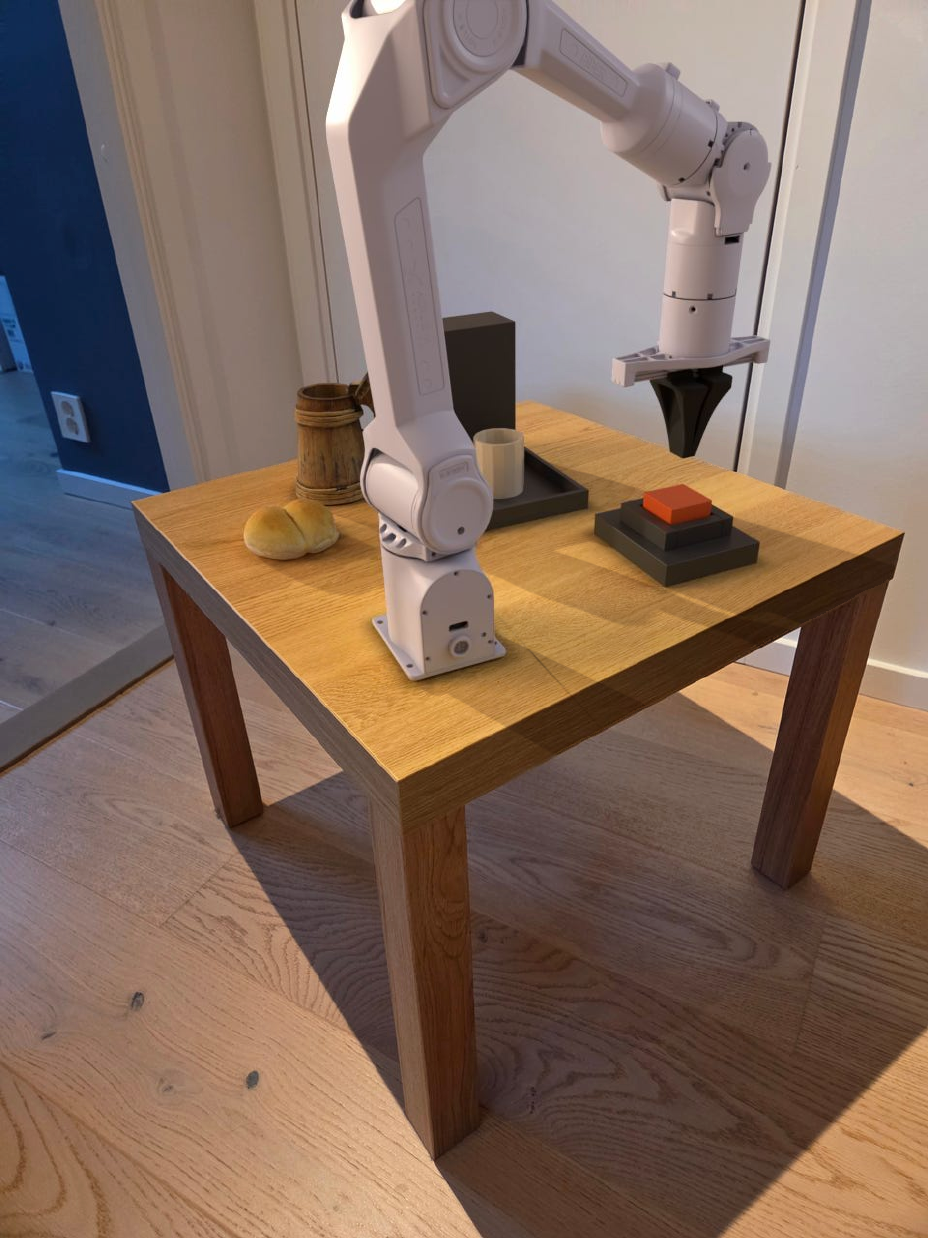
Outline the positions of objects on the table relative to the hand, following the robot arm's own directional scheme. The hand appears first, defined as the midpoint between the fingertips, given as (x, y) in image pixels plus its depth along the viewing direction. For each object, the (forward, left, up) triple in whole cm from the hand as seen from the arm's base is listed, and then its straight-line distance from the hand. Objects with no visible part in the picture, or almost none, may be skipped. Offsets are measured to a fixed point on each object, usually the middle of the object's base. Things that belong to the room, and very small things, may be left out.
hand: (682, 453), depth 76 cm
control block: (0, 0, -9) cm, 9 cm away
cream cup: (+19, +9, -9) cm, 23 cm away
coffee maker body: (+30, +9, -9) cm, 33 cm away
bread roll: (+18, +32, -10) cm, 38 cm away
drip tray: (+19, +9, -9) cm, 23 cm away
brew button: (0, 0, -6) cm, 6 cm away
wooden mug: (+28, +23, -10) cm, 37 cm away
